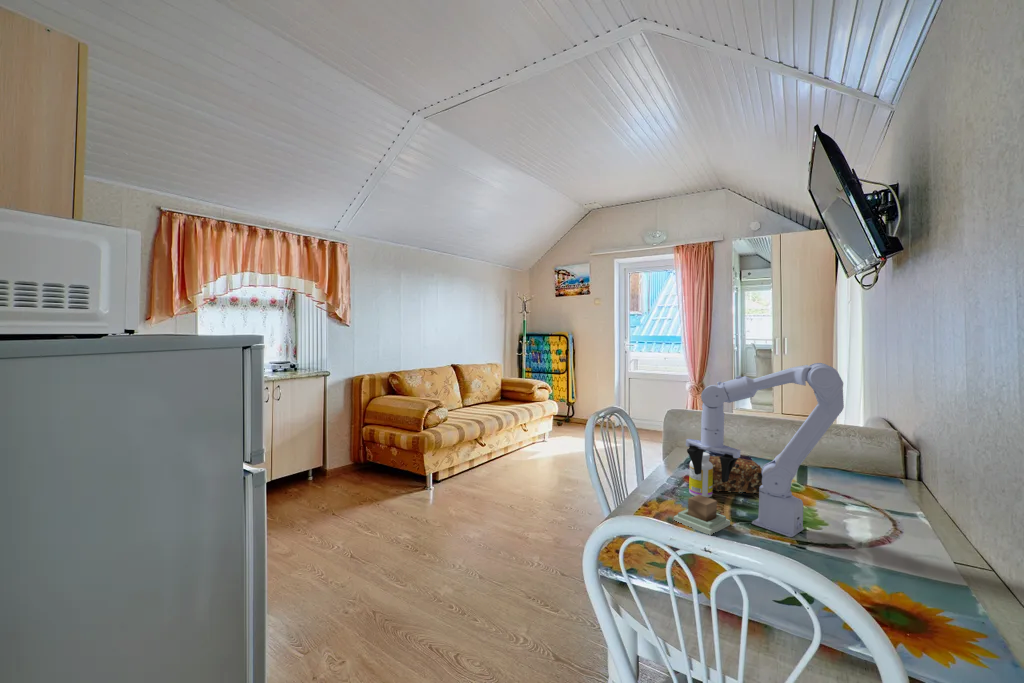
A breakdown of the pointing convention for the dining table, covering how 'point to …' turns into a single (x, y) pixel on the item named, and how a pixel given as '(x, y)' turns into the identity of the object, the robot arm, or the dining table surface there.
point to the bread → (737, 476)
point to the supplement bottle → (701, 478)
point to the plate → (702, 522)
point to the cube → (702, 508)
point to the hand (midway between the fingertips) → (711, 477)
